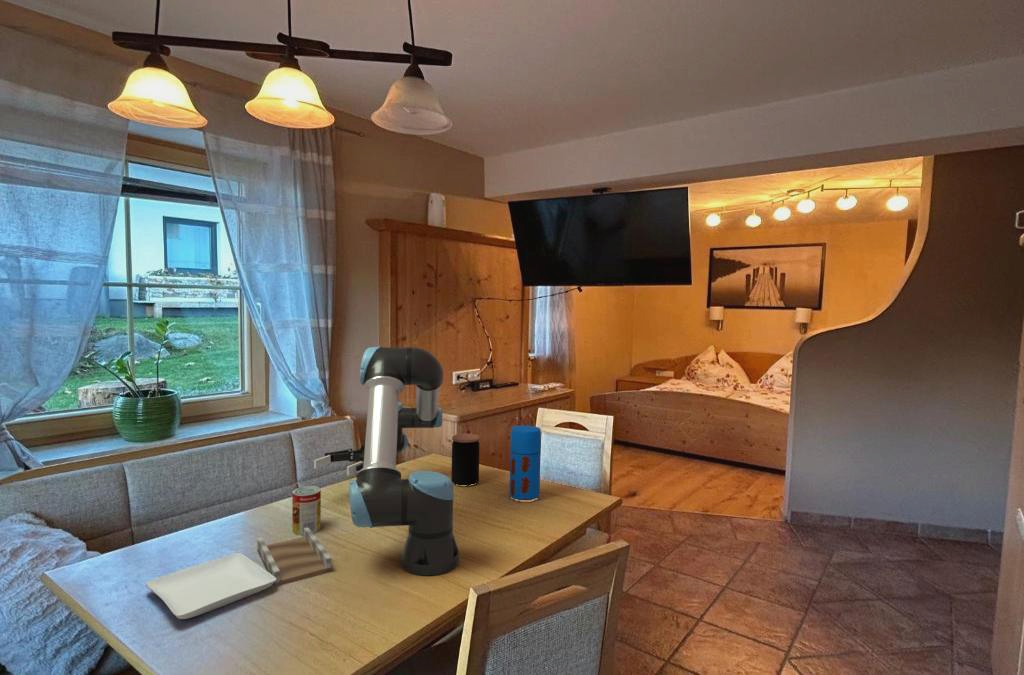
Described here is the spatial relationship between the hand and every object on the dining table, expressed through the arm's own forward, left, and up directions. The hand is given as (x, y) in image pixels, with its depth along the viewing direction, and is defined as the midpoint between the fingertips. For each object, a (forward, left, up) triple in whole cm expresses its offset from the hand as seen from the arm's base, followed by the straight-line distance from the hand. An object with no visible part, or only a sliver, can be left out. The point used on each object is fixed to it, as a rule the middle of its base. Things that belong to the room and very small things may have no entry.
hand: (330, 467), depth 166 cm
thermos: (-18, -63, -16) cm, 68 cm away
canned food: (-5, +9, -16) cm, 19 cm away
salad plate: (-29, +36, -17) cm, 49 cm away
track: (-23, +17, -16) cm, 33 cm away
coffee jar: (+7, -53, -16) cm, 56 cm away
